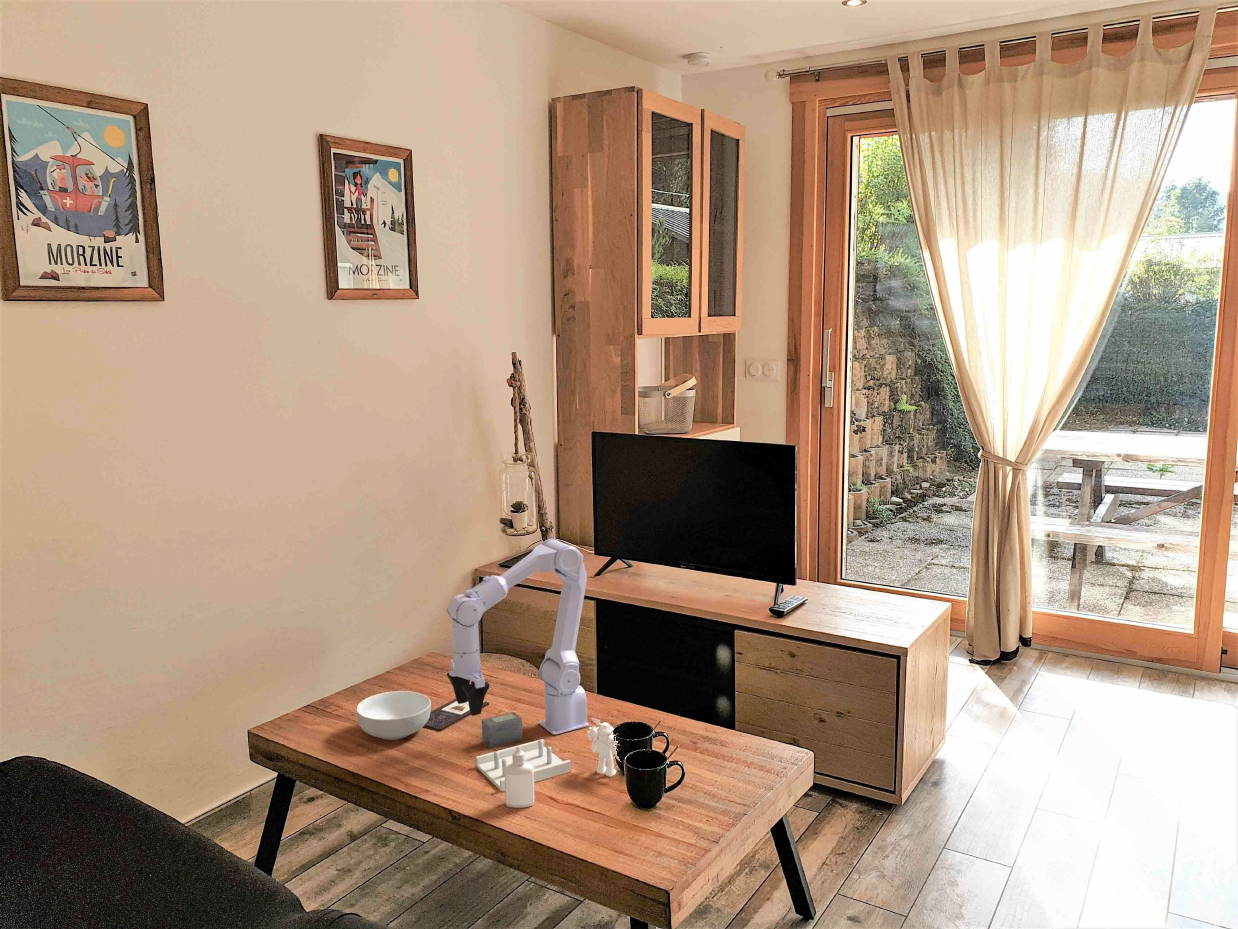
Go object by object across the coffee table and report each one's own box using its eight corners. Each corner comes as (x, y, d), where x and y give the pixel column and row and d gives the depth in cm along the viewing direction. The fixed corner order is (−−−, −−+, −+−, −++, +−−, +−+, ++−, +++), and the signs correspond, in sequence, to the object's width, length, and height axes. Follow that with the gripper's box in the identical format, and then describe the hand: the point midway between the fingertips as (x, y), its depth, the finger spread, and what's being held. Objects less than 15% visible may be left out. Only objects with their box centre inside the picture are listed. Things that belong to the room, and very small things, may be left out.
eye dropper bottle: (525, 812, 185) (523, 754, 183) (501, 805, 188) (500, 748, 186) (538, 802, 189) (536, 745, 187) (514, 796, 192) (513, 739, 190)
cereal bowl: (389, 755, 210) (388, 725, 209) (342, 736, 220) (340, 707, 219) (447, 729, 224) (445, 700, 223) (400, 712, 234) (398, 684, 233)
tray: (543, 748, 212) (542, 730, 212) (571, 771, 202) (570, 752, 201) (476, 766, 204) (475, 748, 204) (501, 791, 193) (501, 771, 193)
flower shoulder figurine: (583, 770, 202) (582, 716, 200) (595, 763, 205) (594, 710, 203) (617, 782, 197) (616, 727, 195) (629, 775, 200) (628, 720, 198)
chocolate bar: (411, 721, 227) (460, 695, 242) (411, 725, 227) (460, 699, 242) (440, 729, 222) (488, 702, 238) (440, 733, 222) (489, 706, 238)
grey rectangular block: (514, 734, 220) (513, 711, 220) (522, 741, 217) (521, 717, 216) (482, 742, 216) (481, 719, 215) (489, 749, 213) (489, 725, 212)
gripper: (437, 644, 213) (440, 701, 215) (461, 663, 201) (464, 724, 203) (466, 637, 217) (469, 694, 219) (492, 656, 205) (495, 716, 207)
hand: (469, 708), depth 211 cm, fingers open, 7 cm apart
